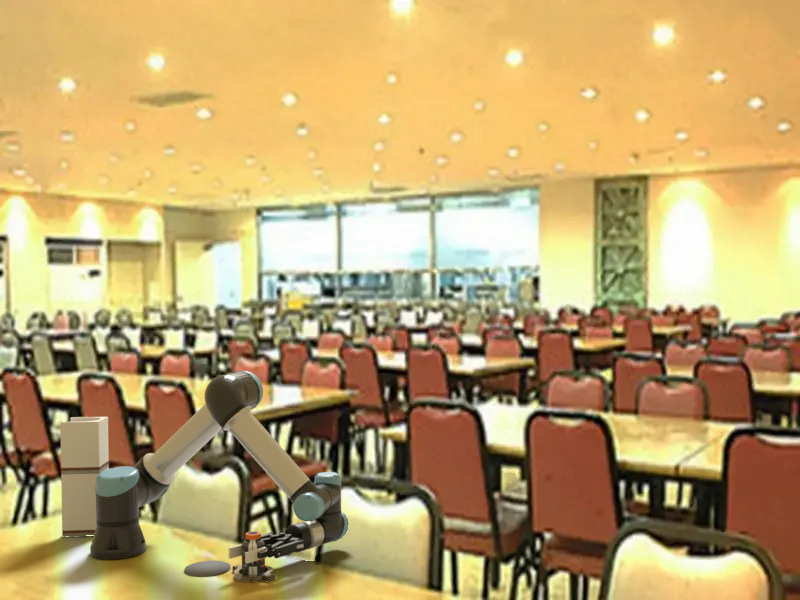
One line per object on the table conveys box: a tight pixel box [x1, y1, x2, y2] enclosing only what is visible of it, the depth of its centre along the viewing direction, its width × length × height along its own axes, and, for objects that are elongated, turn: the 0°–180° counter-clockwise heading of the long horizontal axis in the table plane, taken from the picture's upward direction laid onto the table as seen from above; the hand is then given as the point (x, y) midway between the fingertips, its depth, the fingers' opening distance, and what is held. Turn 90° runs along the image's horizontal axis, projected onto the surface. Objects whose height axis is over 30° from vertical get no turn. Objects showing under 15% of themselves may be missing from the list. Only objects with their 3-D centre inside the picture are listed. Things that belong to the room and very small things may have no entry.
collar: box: [232, 564, 276, 583], centre depth 236 cm, size 15×10×1 cm
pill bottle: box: [241, 530, 266, 575], centre depth 236 cm, size 6×6×11 cm
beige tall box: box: [59, 416, 110, 537], centre depth 280 cm, size 11×11×35 cm
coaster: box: [184, 560, 231, 577], centre depth 242 cm, size 12×12×1 cm
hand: (237, 555), depth 232 cm, fingers closed on pill bottle, 6 cm apart
